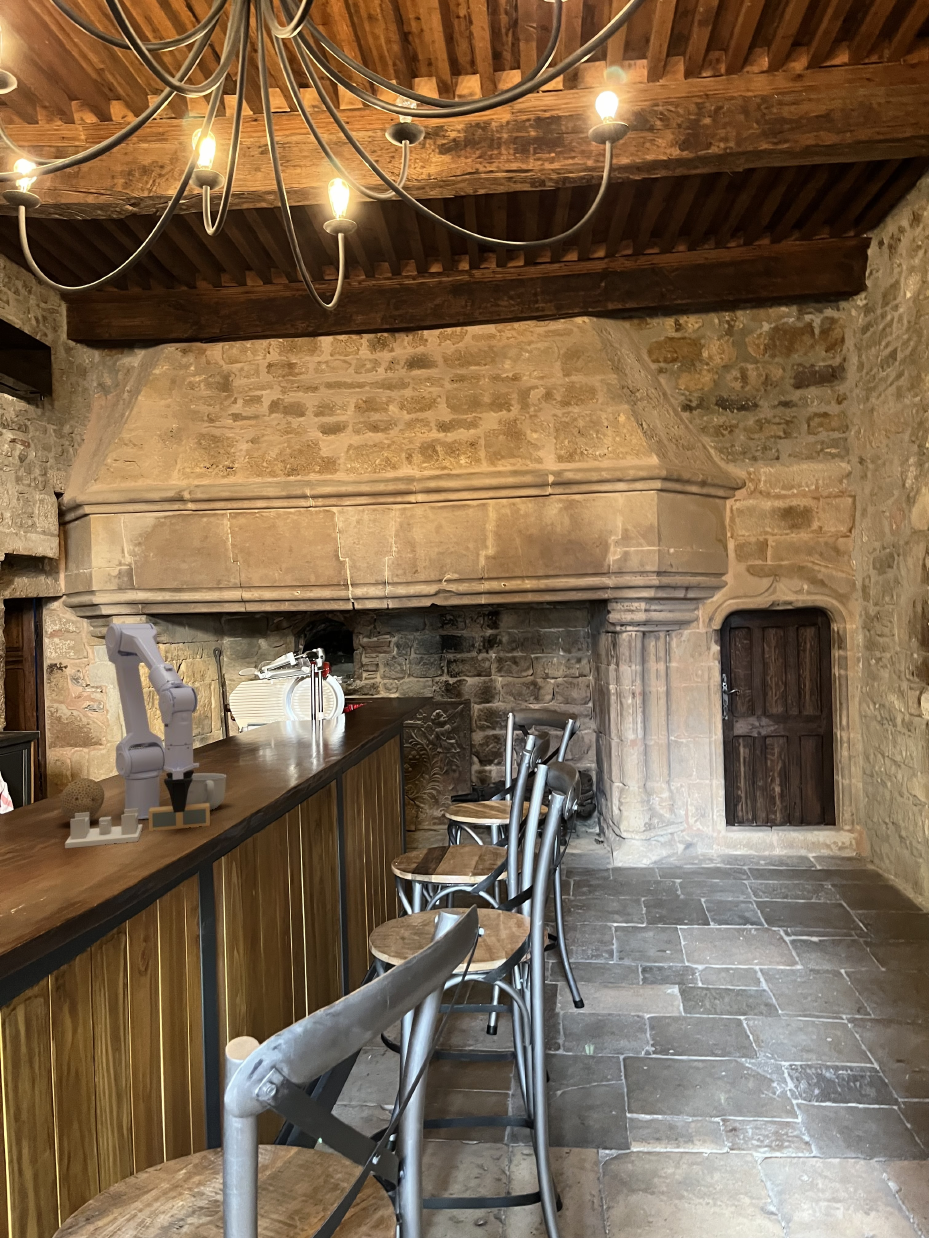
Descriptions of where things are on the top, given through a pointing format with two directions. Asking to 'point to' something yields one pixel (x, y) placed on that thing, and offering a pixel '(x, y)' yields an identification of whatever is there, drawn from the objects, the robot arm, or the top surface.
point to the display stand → (103, 830)
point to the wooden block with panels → (179, 817)
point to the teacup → (207, 789)
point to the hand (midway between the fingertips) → (179, 808)
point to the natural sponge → (82, 798)
